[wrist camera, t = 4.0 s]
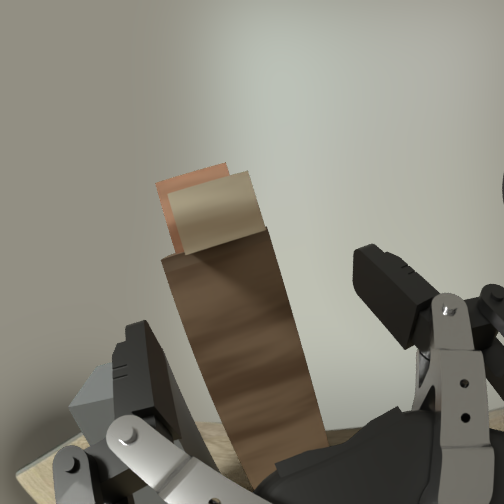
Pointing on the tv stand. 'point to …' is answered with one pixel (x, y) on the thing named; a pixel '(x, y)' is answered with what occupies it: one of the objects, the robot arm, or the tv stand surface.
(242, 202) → the two-tone block
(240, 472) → the tv stand surface
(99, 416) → the tall grey block
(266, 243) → the tall stand
